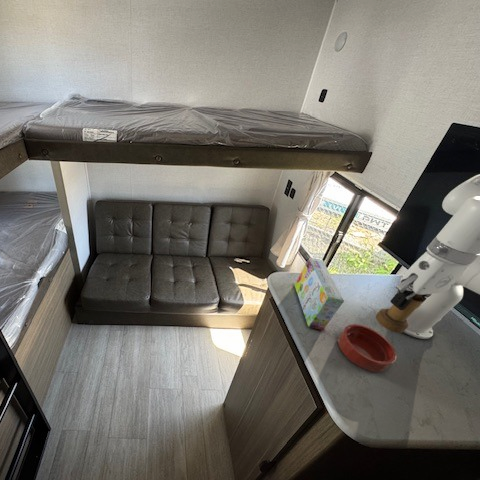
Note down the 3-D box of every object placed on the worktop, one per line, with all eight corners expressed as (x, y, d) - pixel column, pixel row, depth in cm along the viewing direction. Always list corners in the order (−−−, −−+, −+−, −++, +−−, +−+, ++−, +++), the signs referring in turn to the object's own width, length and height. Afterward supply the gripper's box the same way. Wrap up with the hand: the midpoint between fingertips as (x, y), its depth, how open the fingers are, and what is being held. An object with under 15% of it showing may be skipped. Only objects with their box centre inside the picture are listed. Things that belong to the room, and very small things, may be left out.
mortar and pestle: (410, 332, 69) (458, 285, 58) (388, 333, 68) (433, 286, 58) (390, 313, 74) (430, 266, 64) (370, 313, 74) (407, 267, 63)
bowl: (361, 331, 87) (369, 322, 84) (397, 369, 76) (407, 360, 73) (327, 336, 84) (334, 326, 82) (360, 376, 74) (369, 367, 71)
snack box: (324, 331, 86) (345, 301, 77) (307, 327, 87) (326, 297, 78) (307, 287, 103) (323, 258, 95) (293, 284, 104) (307, 256, 95)
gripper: (440, 264, 53) (390, 320, 63) (500, 258, 55) (442, 313, 66) (406, 243, 59) (365, 297, 69) (461, 239, 61) (414, 291, 72)
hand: (403, 304), depth 67 cm, fingers closed on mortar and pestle, 3 cm apart
